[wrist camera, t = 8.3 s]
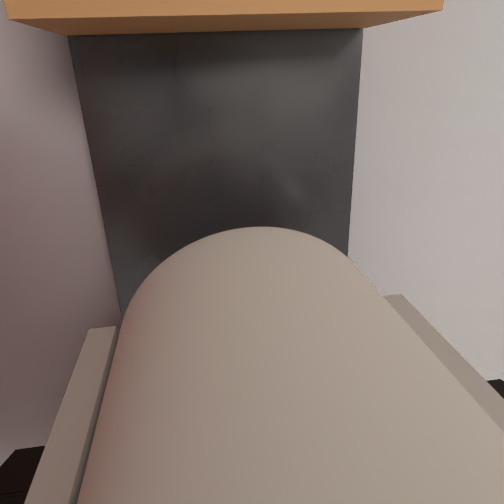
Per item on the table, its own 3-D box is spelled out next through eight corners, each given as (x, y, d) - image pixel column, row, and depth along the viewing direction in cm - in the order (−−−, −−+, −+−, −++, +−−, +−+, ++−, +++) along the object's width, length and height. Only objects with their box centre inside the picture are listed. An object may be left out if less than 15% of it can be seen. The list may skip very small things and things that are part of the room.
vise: (28, -219, 12) (-118, -489, 6) (364, -204, 13) (503, -416, 7) (151, 440, 22) (140, 564, 17) (328, 414, 24) (373, 522, 18)
